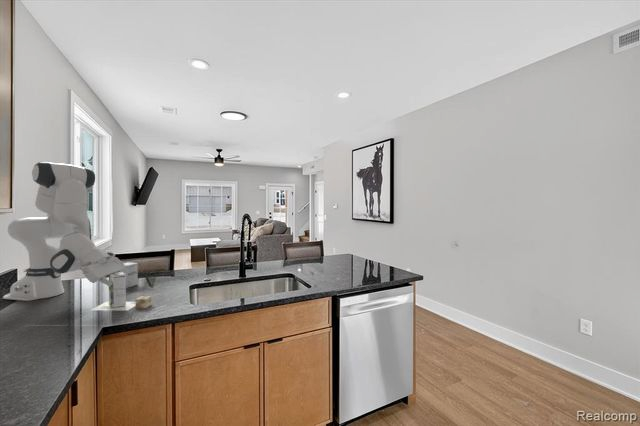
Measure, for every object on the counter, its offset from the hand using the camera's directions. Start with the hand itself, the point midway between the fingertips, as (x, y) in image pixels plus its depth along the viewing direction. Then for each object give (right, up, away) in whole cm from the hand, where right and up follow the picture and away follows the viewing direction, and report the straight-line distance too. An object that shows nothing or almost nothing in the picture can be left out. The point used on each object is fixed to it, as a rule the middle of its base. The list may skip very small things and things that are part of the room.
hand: (118, 282), depth 130 cm
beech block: (+11, -12, +1) cm, 16 cm away
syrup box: (-1, -11, 0) cm, 11 cm away
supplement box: (-17, -10, +31) cm, 37 cm away
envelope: (-1, -11, 0) cm, 11 cm away
